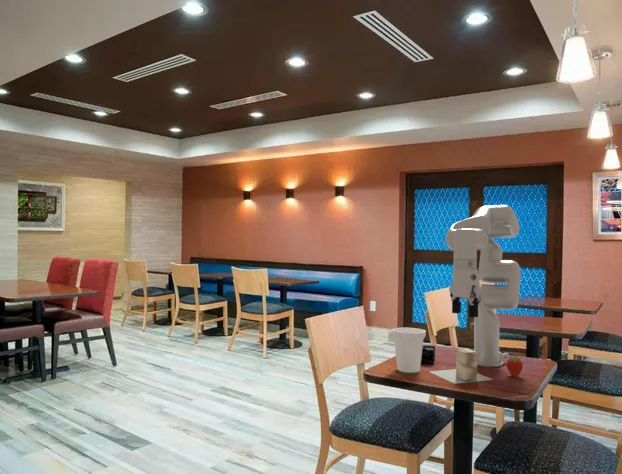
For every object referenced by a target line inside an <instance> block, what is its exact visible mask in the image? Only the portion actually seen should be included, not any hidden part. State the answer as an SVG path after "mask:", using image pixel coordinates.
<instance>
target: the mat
mask: <svg viewBox="0 0 622 474" xmlns="http://www.w3.org/2000/svg"><path fill="white" fill-rule="evenodd" d="M428 373H430V374H433V375H435V376H437V377H438V378H441V379H442V380H446V381H448V382H449V383H452V384H453V385H456V384H463V383H465V384H466V383H468V382H464V381H461V380H459V379H457V378H456V368H452V369H441V370H430V371H428ZM493 380H494V379H493V378H490V377H488V376H485V375H482V374H480V373H478V372H477V381H470V382H469V383H474V382H483V381H485V382H486V381H493Z"/></svg>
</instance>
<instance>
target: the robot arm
mask: <svg viewBox="0 0 622 474" xmlns="http://www.w3.org/2000/svg"><path fill="white" fill-rule="evenodd" d="M519 231H520V223H519V220H518V217H517V216H516V212H515V211H514V209H513V208H512V207H511V206H509V205H506V204H500V205H499V204H498V205H497V204H496V205H495V204H494V205H483V206H480V207H478V208H477V209H476V210H475V211H474V213H473V215H472V216H471V217H468V218H465V219H462V220H460V221H457V222H455V223H453V224H452V225H451V226H450V228H449V229H448V230H447V233H446V235H445V244H446V246H447V247H448V248H449V249H450V250H453V270H452V271H453V272H452V280H451V286H450V287H449V289H448V291H449V296H450V299H451V300H450V302H451V313H452V314H461V313H462V301H461V299H465V300H468V302H469V305H468V317H469V318H474V319H473V351H476V352H477V366H480V367H491V368H499V367H502V366H503V365H504V361H503V358H504V359H507V358H509V357H510V354H509V353H508V352H503V353H502V352H501V351H500V318H499V317H498V315H497V313H496V312H495V311H494V310H503V311H505V310H506V311H512V310H515V309H517V307H518V306H519V302H520V290H521V288H520V287H521V275H522V273H521V266H520V265H519V263H518V262H517V261H516V260H510V259H509V260H507V259H504V260H503V248H502V247H501V246H500V244H498V242H496V240H494V239H510V238H511V239H512V238H515V237H517V236H518V234H519ZM477 251H480V257H479V262H478V263H479V265H477V257H478V255H477V254H478V252H477ZM477 266H478V269H477ZM480 281H481V282H483V283H484V284H483V283H482V284H480ZM485 283H486V284H485Z"/></svg>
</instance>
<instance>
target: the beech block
mask: <svg viewBox="0 0 622 474" xmlns="http://www.w3.org/2000/svg"><path fill="white" fill-rule="evenodd" d="M455 369H456V378H457V379H459V380H461V381H464V382H467V383H471V382H470V381H476V382H478V381H477V373H478V365H477V352H476V351H474V349H469V348H462V349H455Z"/></svg>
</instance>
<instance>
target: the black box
mask: <svg viewBox="0 0 622 474" xmlns="http://www.w3.org/2000/svg"><path fill="white" fill-rule="evenodd" d="M435 362H436V346H435V345H423V348H422V356H421V365H420V366H423V365H424V366H435Z"/></svg>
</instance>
